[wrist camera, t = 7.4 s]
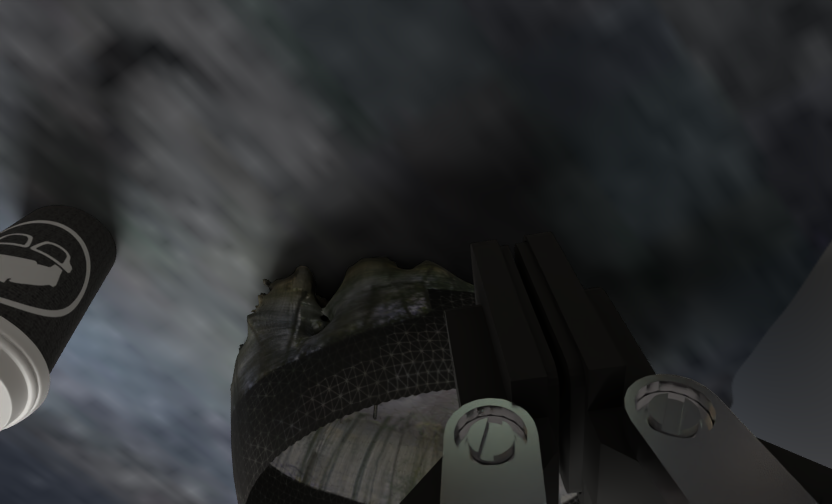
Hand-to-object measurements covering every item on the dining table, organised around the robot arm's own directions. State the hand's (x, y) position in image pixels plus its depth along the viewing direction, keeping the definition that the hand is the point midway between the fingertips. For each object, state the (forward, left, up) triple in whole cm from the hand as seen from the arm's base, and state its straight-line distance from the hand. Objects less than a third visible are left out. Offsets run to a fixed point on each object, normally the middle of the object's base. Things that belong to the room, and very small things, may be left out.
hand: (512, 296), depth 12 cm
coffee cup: (+28, +10, -27) cm, 40 cm away
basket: (+2, +27, -28) cm, 39 cm away
